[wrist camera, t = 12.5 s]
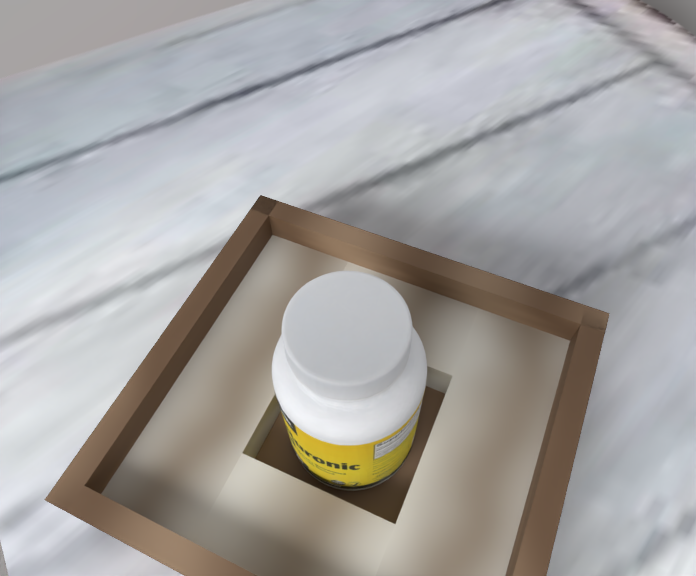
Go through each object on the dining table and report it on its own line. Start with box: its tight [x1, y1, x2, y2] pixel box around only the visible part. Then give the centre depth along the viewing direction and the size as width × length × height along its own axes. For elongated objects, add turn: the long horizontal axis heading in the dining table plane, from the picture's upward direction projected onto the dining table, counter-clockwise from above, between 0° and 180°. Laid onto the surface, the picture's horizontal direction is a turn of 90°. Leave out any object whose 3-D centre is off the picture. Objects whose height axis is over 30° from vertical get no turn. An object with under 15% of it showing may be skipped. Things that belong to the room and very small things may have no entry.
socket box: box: [45, 195, 609, 576], centre depth 25 cm, size 17×16×4 cm
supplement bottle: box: [272, 271, 427, 491], centre depth 22 cm, size 5×5×10 cm
